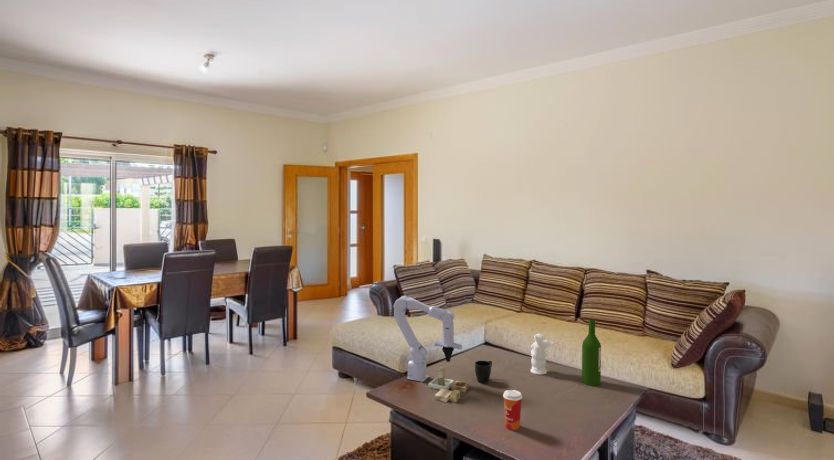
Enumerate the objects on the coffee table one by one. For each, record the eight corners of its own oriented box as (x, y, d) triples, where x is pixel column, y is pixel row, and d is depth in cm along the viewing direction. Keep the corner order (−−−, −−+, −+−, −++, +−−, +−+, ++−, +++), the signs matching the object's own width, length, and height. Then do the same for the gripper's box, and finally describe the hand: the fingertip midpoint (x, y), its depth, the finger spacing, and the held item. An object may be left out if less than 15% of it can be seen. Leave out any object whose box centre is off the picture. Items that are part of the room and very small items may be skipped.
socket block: (451, 389, 211) (451, 385, 211) (456, 384, 217) (456, 380, 217) (465, 392, 208) (465, 388, 208) (469, 386, 214) (469, 383, 214)
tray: (428, 387, 214) (428, 384, 214) (435, 380, 223) (435, 377, 223) (446, 391, 209) (446, 387, 209) (454, 383, 218) (454, 380, 218)
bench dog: (450, 401, 198) (450, 393, 198) (454, 396, 203) (454, 389, 203) (456, 402, 197) (456, 394, 197) (460, 398, 202) (460, 390, 201)
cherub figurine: (534, 367, 241) (535, 328, 240) (556, 372, 234) (557, 332, 233) (526, 373, 231) (527, 333, 230) (549, 379, 224) (549, 337, 223)
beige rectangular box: (434, 400, 200) (434, 395, 200) (441, 393, 207) (441, 388, 207) (446, 403, 197) (446, 397, 197) (453, 396, 204) (453, 391, 204)
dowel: (444, 385, 214) (443, 370, 214) (437, 385, 215) (436, 369, 214) (445, 383, 217) (444, 367, 217) (438, 382, 218) (438, 367, 218)
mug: (498, 379, 224) (498, 361, 224) (485, 385, 215) (485, 367, 215) (484, 375, 230) (484, 357, 229) (471, 381, 221) (471, 363, 221)
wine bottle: (601, 387, 213) (602, 322, 212) (582, 384, 216) (582, 321, 215) (599, 380, 222) (600, 318, 220) (581, 378, 225) (582, 317, 223)
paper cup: (500, 422, 178) (500, 389, 177) (518, 421, 179) (518, 388, 178) (506, 432, 170) (506, 397, 170) (524, 431, 171) (525, 396, 170)
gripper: (432, 335, 220) (432, 361, 221) (458, 339, 214) (458, 365, 215) (437, 332, 227) (437, 357, 227) (463, 335, 220) (463, 361, 221)
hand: (448, 361), depth 221 cm, fingers closed
